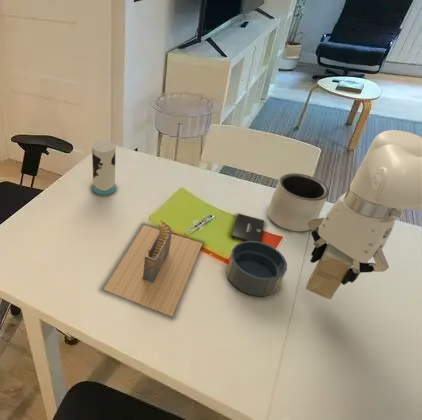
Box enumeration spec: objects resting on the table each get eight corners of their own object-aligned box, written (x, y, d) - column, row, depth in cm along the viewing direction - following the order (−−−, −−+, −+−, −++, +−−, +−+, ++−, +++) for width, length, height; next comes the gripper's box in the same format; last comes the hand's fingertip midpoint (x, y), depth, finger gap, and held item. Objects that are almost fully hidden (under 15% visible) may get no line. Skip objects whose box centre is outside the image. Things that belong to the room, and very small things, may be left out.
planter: (297, 202, 110) (311, 170, 103) (324, 230, 101) (340, 197, 94) (258, 206, 109) (269, 175, 102) (281, 235, 99) (294, 202, 92)
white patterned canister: (115, 182, 118) (115, 140, 109) (114, 195, 113) (115, 152, 104) (93, 182, 118) (92, 139, 109) (92, 194, 113) (91, 151, 104)
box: (305, 289, 80) (323, 253, 73) (309, 276, 82) (327, 240, 76) (331, 301, 77) (353, 264, 70) (335, 287, 80) (357, 251, 73)
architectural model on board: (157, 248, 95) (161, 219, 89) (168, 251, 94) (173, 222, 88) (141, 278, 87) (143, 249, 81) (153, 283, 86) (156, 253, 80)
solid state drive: (263, 222, 103) (264, 220, 103) (258, 245, 96) (259, 243, 96) (237, 215, 105) (238, 213, 105) (231, 237, 98) (231, 235, 98)
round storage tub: (290, 283, 87) (298, 265, 83) (255, 305, 82) (262, 288, 78) (249, 251, 94) (255, 234, 91) (215, 270, 89) (220, 253, 86)
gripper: (435, 220, 61) (383, 291, 72) (336, 171, 72) (304, 239, 83) (411, 237, 58) (361, 308, 69) (312, 183, 69) (283, 251, 80)
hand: (330, 269), depth 76 cm, fingers closed on box, 6 cm apart
